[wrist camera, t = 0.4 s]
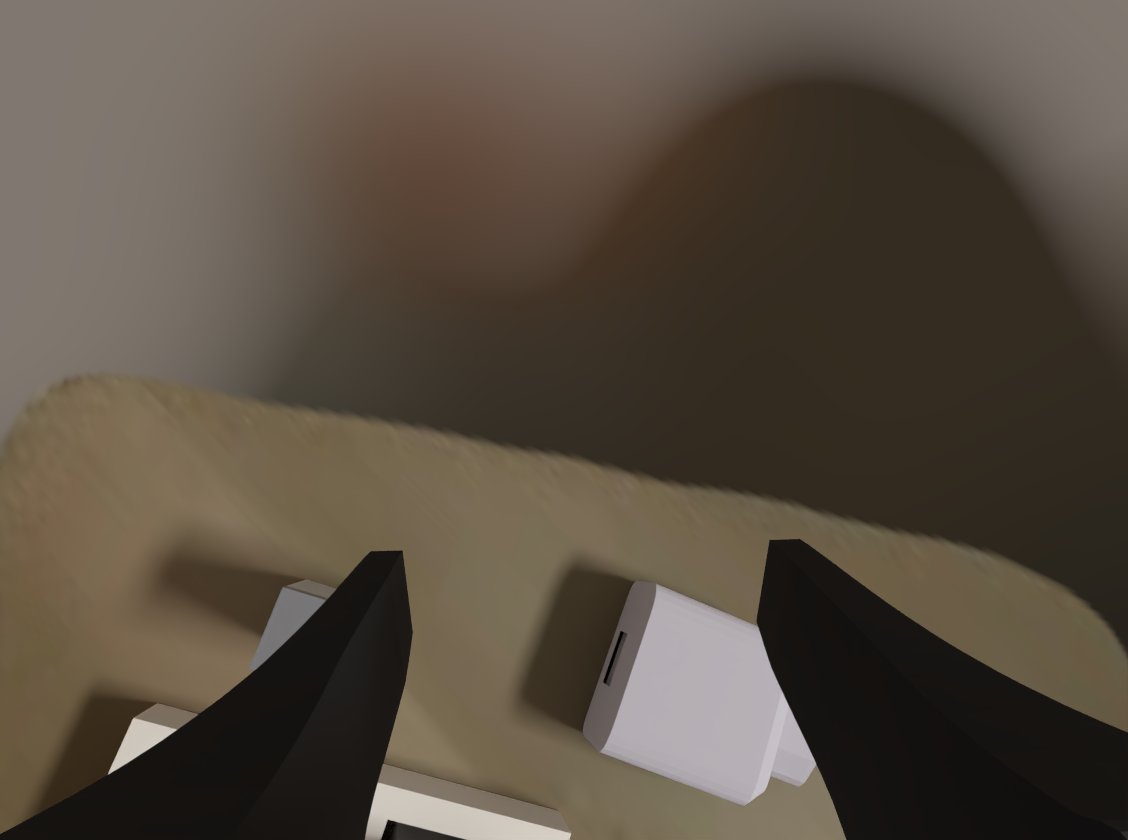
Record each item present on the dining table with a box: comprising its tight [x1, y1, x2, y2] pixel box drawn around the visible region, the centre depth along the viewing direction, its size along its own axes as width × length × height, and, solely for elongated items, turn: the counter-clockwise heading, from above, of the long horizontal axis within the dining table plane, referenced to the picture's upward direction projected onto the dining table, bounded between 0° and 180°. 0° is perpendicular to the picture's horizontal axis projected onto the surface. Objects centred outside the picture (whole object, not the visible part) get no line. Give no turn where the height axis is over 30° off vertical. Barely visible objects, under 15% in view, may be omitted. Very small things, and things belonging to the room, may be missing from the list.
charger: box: [583, 581, 816, 806], centre depth 37 cm, size 5×9×15 cm
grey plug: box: [249, 579, 336, 671], centre depth 32 cm, size 4×5×7 cm
